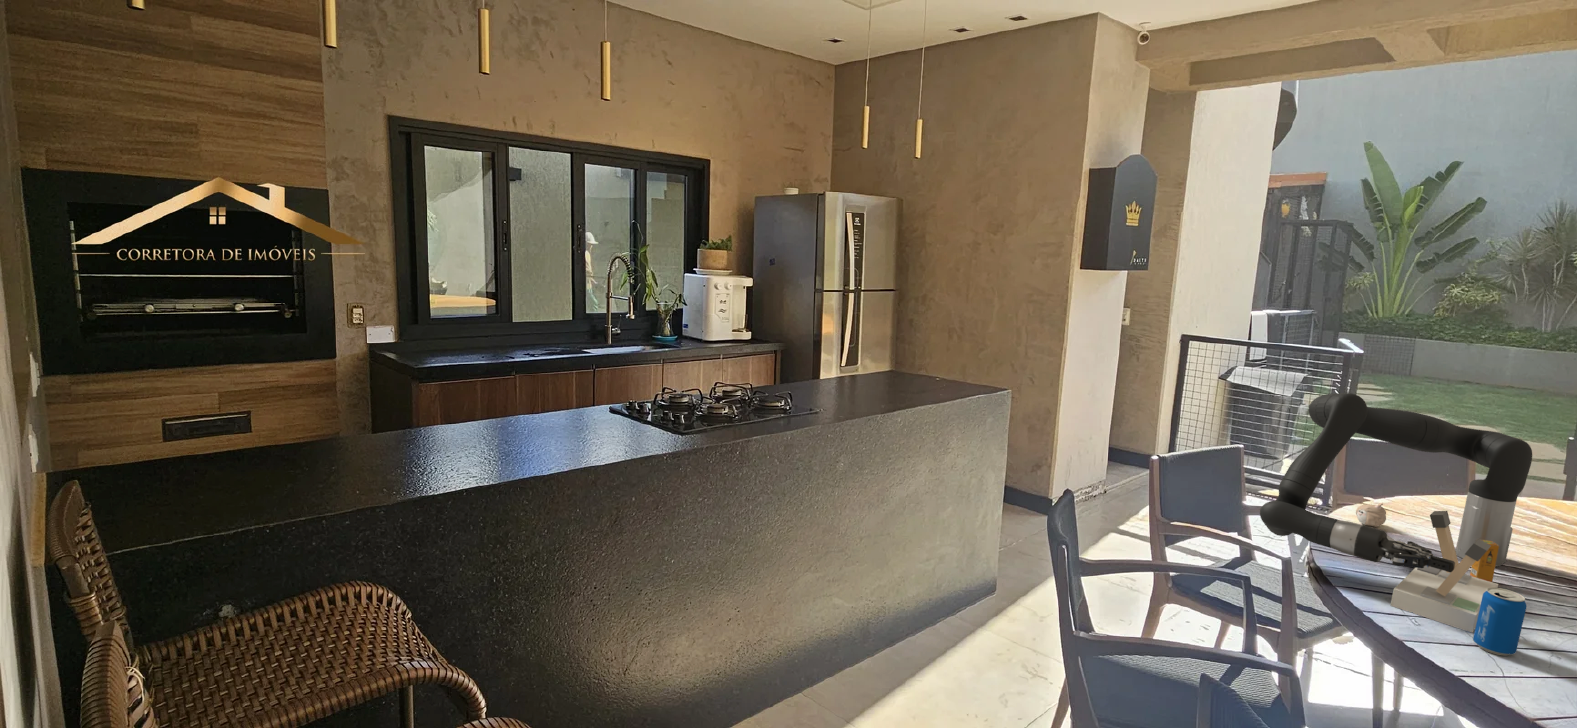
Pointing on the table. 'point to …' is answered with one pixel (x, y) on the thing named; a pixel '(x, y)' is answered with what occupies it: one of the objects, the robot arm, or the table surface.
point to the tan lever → (1464, 566)
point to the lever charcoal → (1444, 535)
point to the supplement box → (1486, 563)
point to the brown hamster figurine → (1371, 514)
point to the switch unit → (1441, 597)
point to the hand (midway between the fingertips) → (1453, 567)
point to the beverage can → (1500, 621)
